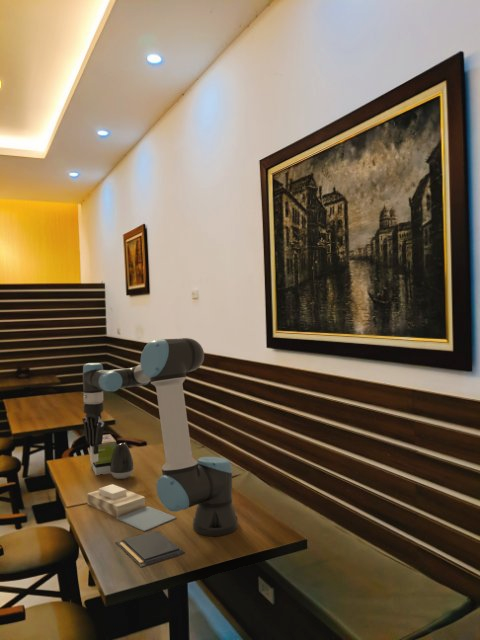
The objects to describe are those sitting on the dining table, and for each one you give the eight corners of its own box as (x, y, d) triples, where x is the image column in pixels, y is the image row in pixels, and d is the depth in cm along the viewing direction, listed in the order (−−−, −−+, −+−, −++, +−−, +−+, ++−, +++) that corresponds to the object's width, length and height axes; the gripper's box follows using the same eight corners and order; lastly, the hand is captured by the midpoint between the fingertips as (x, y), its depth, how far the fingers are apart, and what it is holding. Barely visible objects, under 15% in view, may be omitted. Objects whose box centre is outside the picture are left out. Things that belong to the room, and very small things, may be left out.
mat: (176, 518, 178) (176, 517, 178) (144, 531, 168) (144, 530, 168) (148, 507, 189) (148, 506, 189) (116, 519, 178) (116, 517, 178)
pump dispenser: (136, 473, 228) (136, 440, 228) (129, 481, 218) (129, 446, 218) (115, 473, 229) (114, 440, 229) (106, 481, 219) (106, 446, 219)
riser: (145, 507, 188) (144, 497, 188) (117, 517, 179) (117, 506, 179) (114, 495, 202) (114, 485, 202) (87, 504, 193) (87, 493, 193)
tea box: (90, 466, 240) (89, 435, 239) (111, 463, 244) (111, 433, 244) (95, 476, 226) (94, 443, 226) (117, 472, 230) (117, 440, 230)
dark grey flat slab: (186, 549, 152) (138, 564, 144) (186, 555, 152) (138, 570, 144) (158, 526, 169) (114, 538, 160) (158, 532, 169) (114, 544, 160)
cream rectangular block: (126, 494, 191) (126, 489, 191) (112, 499, 187) (112, 493, 187) (112, 489, 197) (112, 484, 197) (99, 493, 193) (99, 488, 193)
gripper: (76, 401, 201) (77, 460, 201) (94, 405, 192) (95, 467, 193) (92, 399, 206) (93, 456, 207) (111, 403, 198) (111, 462, 198)
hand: (94, 461), depth 200 cm, fingers closed
